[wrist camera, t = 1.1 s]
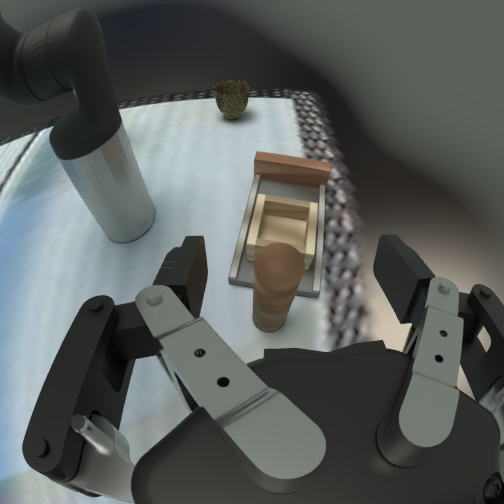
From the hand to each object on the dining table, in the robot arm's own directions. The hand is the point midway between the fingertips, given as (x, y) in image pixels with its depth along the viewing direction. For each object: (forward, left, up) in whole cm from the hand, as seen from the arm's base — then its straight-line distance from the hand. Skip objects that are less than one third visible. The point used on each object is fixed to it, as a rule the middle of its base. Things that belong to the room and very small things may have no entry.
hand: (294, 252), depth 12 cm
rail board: (-12, +13, -23) cm, 29 cm away
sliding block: (-10, +11, -21) cm, 26 cm away
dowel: (-3, +3, -23) cm, 23 cm away
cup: (-41, +26, -23) cm, 53 cm away
